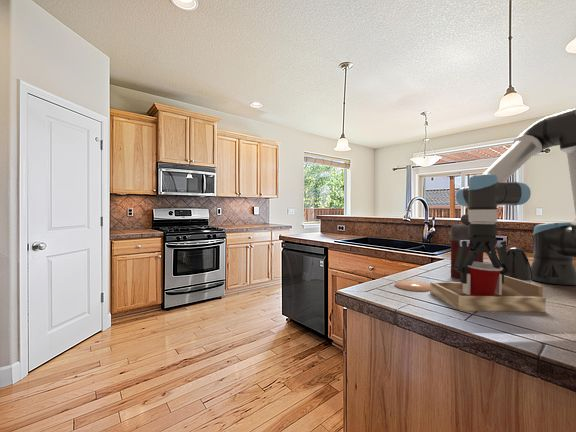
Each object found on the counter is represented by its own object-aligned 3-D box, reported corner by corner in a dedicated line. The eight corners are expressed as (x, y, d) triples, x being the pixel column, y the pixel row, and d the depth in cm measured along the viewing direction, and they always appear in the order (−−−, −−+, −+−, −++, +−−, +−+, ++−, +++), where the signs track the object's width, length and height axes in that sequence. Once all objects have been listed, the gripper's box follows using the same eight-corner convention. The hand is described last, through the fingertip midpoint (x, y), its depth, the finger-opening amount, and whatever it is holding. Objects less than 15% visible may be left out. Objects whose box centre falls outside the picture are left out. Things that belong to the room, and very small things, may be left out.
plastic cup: (494, 309, 82) (494, 268, 82) (455, 300, 91) (455, 263, 91) (509, 302, 88) (509, 264, 88) (471, 294, 97) (471, 260, 97)
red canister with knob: (486, 279, 120) (486, 214, 120) (472, 283, 114) (473, 214, 114) (463, 276, 127) (464, 214, 127) (450, 278, 121) (450, 214, 121)
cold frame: (499, 293, 98) (499, 274, 98) (545, 311, 80) (545, 287, 80) (430, 293, 99) (430, 273, 99) (460, 310, 81) (460, 286, 81)
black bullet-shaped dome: (526, 284, 112) (527, 246, 111) (536, 291, 102) (537, 249, 102) (495, 282, 116) (495, 245, 116) (502, 288, 106) (502, 248, 106)
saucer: (422, 282, 114) (422, 280, 114) (439, 291, 101) (439, 288, 101) (390, 282, 114) (390, 280, 114) (403, 291, 101) (403, 288, 101)
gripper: (507, 223, 93) (507, 290, 93) (441, 222, 93) (441, 290, 93) (526, 223, 85) (526, 297, 85) (454, 223, 86) (454, 296, 86)
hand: (481, 293), depth 89 cm, fingers closed on plastic cup, 9 cm apart
